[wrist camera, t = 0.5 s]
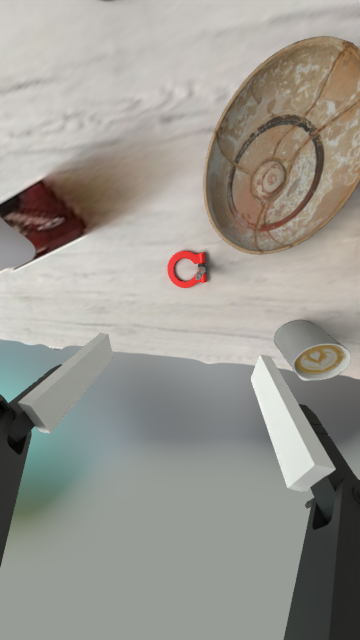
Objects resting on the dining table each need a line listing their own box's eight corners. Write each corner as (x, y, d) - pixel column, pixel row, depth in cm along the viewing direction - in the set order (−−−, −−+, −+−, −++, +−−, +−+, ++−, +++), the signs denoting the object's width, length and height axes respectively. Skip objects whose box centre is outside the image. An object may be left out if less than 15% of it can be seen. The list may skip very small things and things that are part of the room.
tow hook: (171, 288, 38) (207, 284, 36) (154, 305, 27) (204, 302, 25) (166, 253, 35) (204, 247, 33) (143, 257, 24) (200, 248, 21)
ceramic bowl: (374, 176, 24) (412, 161, 20) (247, 275, 34) (254, 280, 30) (305, 15, 19) (336, -56, 14) (178, 187, 29) (174, 177, 24)
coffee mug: (280, 318, 37) (304, 341, 28) (324, 321, 36) (362, 346, 27) (265, 358, 43) (281, 387, 34) (302, 362, 42) (328, 393, 33)
